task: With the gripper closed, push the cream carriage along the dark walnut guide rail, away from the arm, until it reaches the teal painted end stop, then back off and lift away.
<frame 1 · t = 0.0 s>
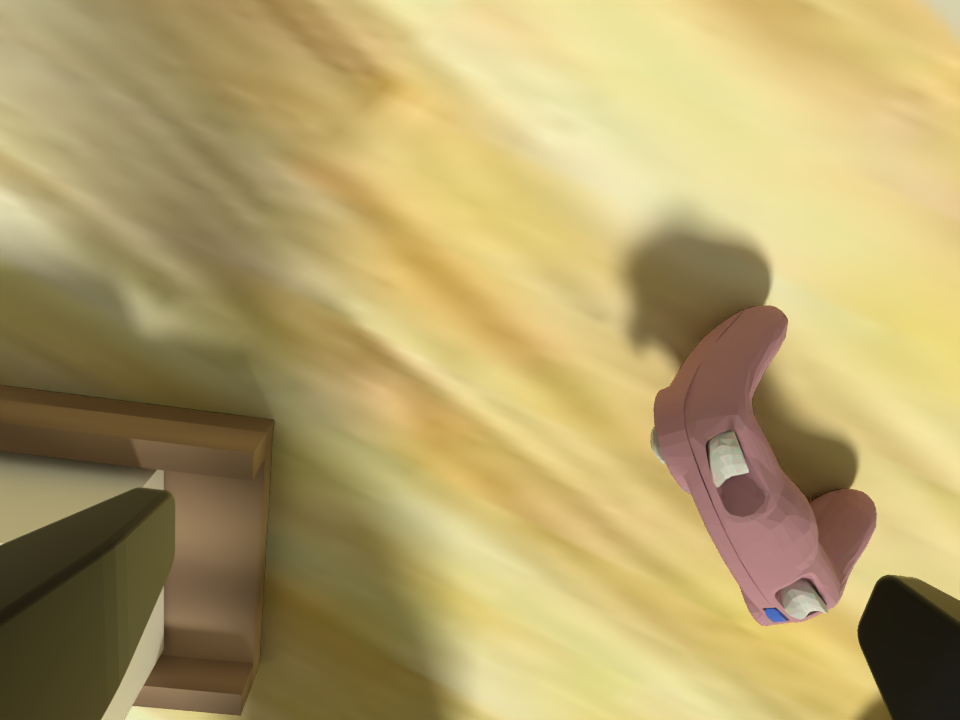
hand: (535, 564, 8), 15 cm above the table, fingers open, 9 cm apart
carriage: (23, 611, 21), point 4 cm above the table, slide at 0.0 cm
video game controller: (737, 436, 25), on the table
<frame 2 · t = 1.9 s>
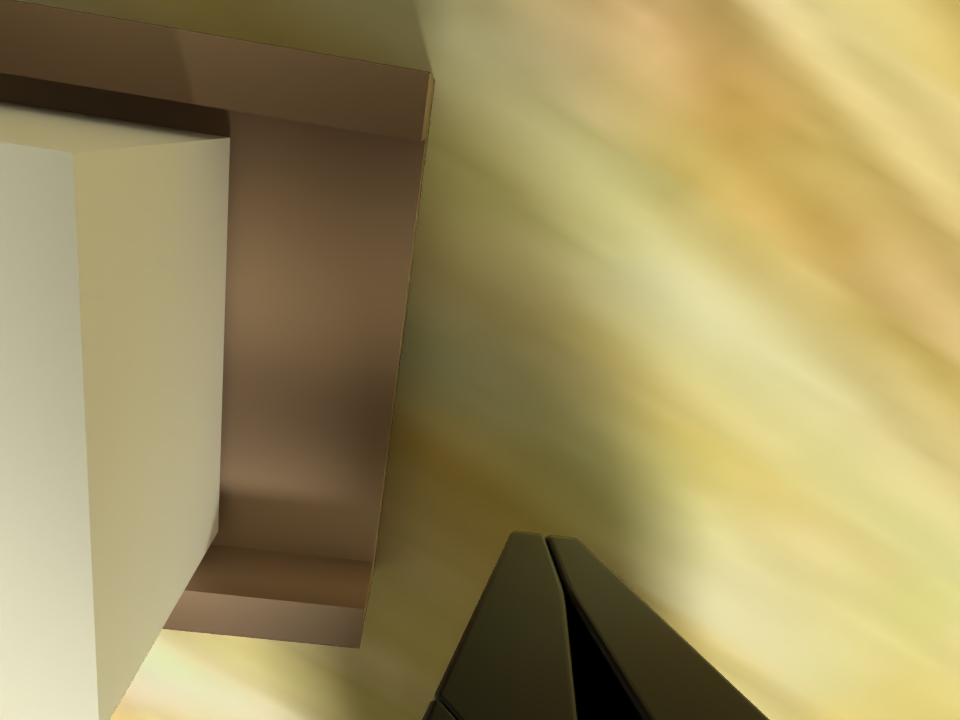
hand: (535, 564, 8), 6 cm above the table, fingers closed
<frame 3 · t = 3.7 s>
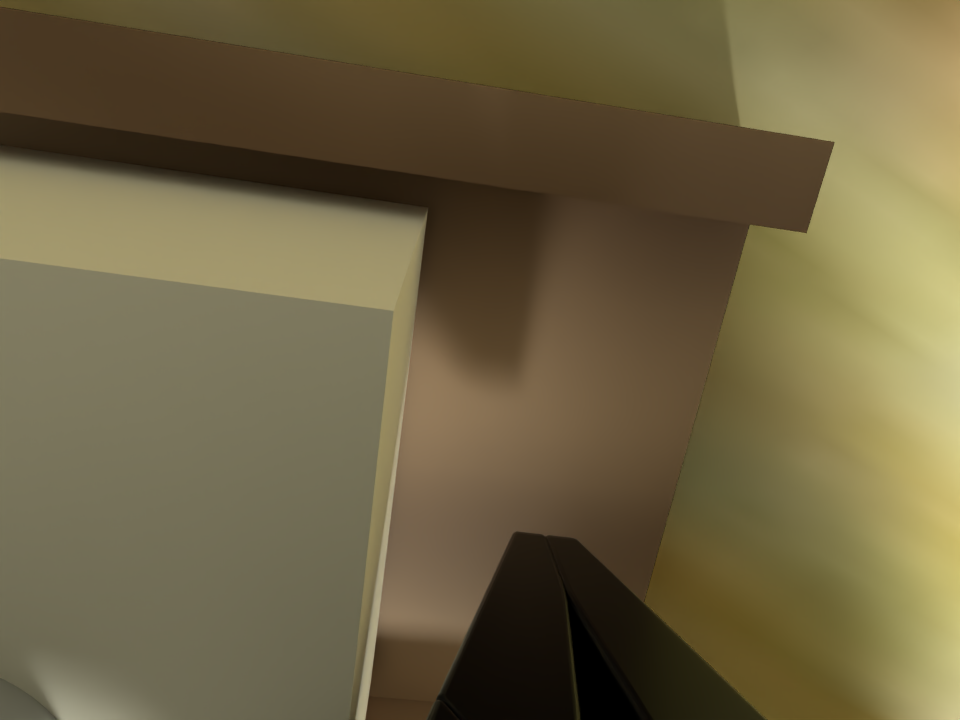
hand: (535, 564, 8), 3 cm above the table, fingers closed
carriage: (77, 594, 7), point 4 cm above the table, slide at 1.1 cm, touching gripper
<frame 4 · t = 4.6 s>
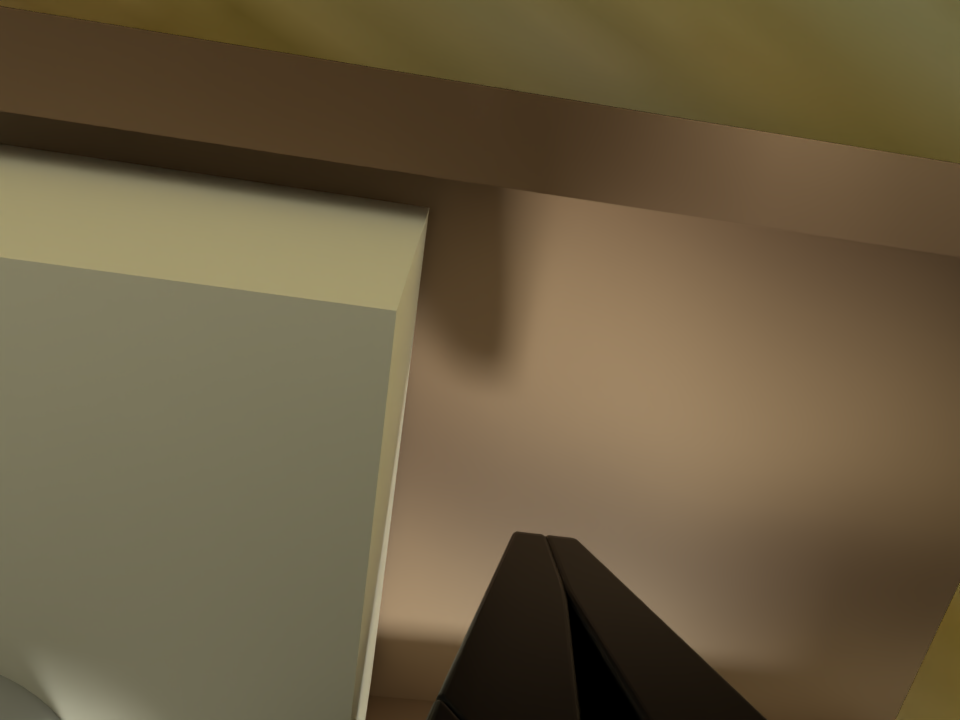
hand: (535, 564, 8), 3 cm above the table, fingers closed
carriage: (79, 593, 7), point 4 cm above the table, slide at 6.3 cm, touching gripper
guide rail: (299, 427, 11), on the table
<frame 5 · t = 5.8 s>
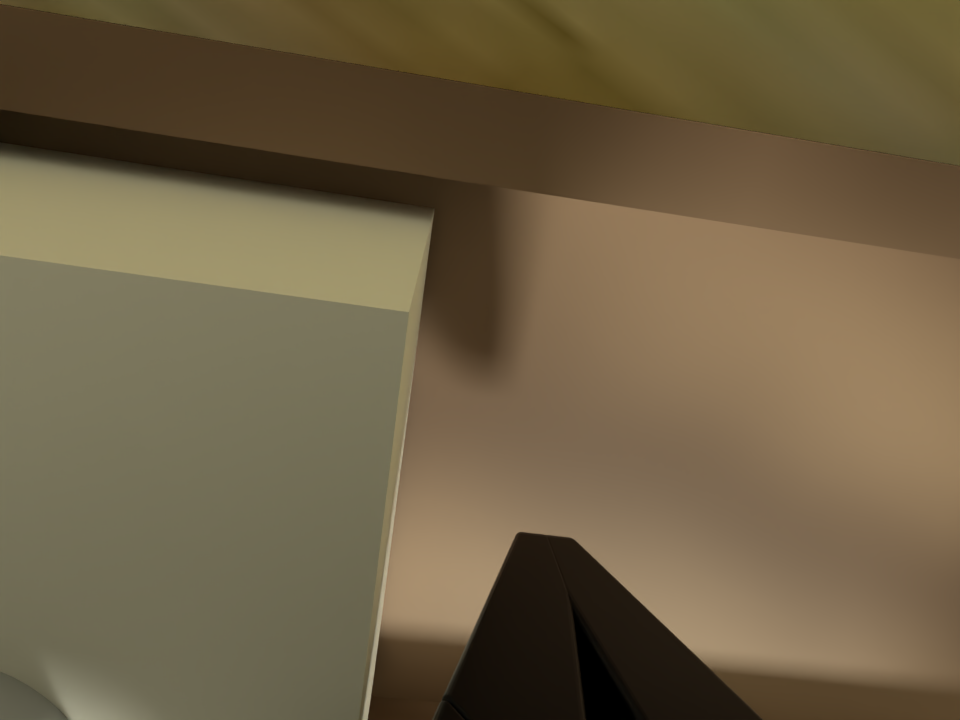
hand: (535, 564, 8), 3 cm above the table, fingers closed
carriage: (84, 593, 7), point 4 cm above the table, slide at 11.0 cm, touching gripper
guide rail: (582, 462, 11), on the table
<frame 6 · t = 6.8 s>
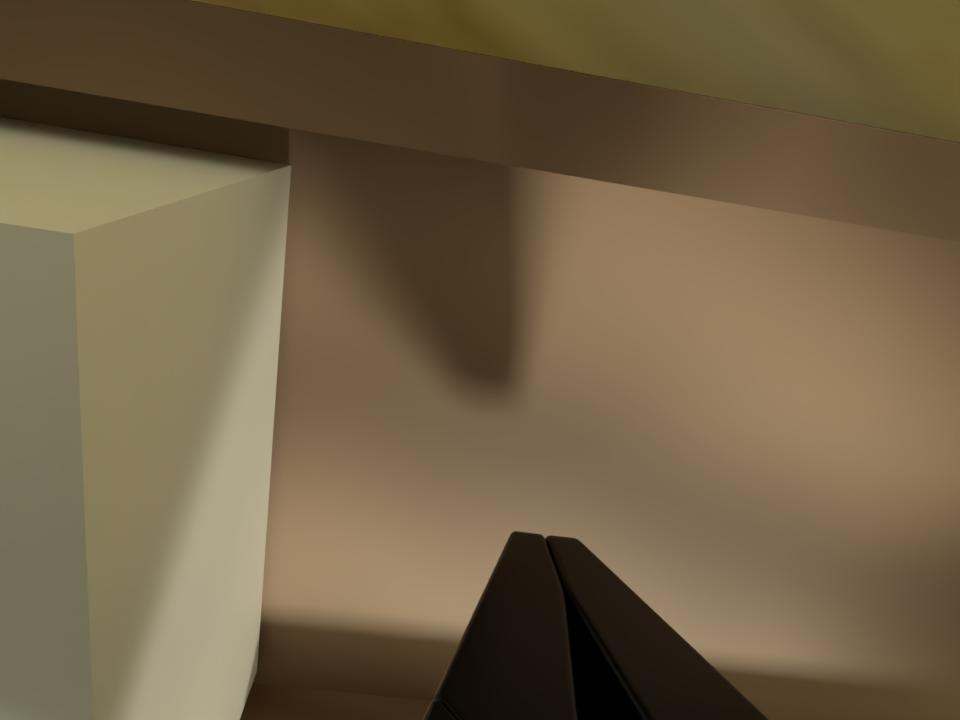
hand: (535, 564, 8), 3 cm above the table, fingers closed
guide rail: (478, 442, 11), on the table
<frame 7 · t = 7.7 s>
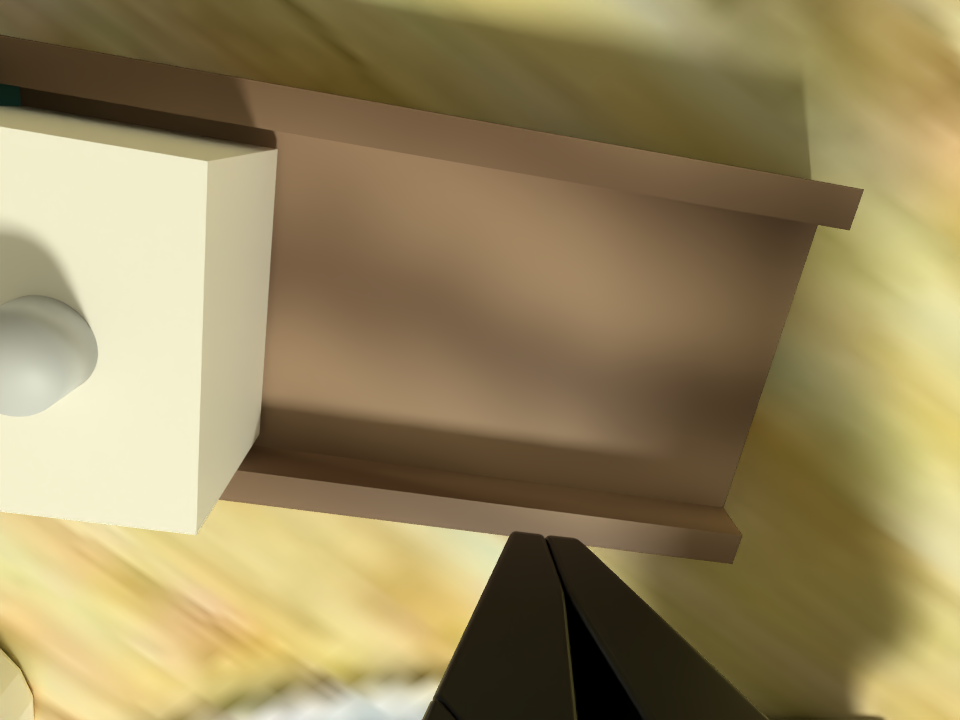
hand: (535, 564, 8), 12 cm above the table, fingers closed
carriage: (94, 317, 15), point 4 cm above the table, slide at 11.0 cm
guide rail: (384, 307, 19), on the table
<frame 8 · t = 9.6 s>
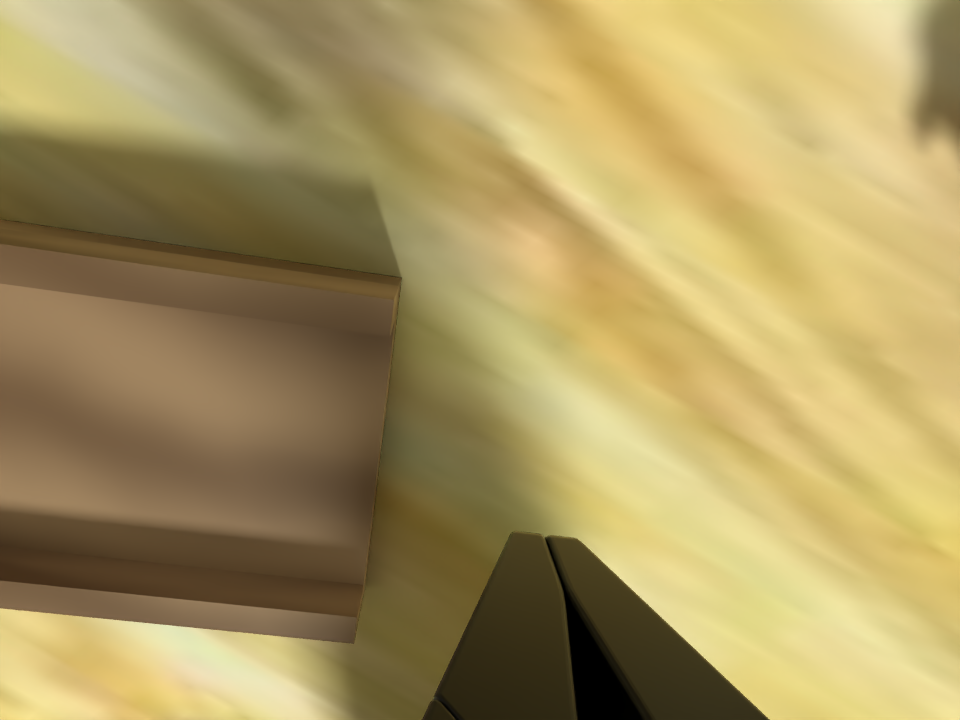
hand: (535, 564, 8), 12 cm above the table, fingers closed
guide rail: (7, 400, 20), on the table
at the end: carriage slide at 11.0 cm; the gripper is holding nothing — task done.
